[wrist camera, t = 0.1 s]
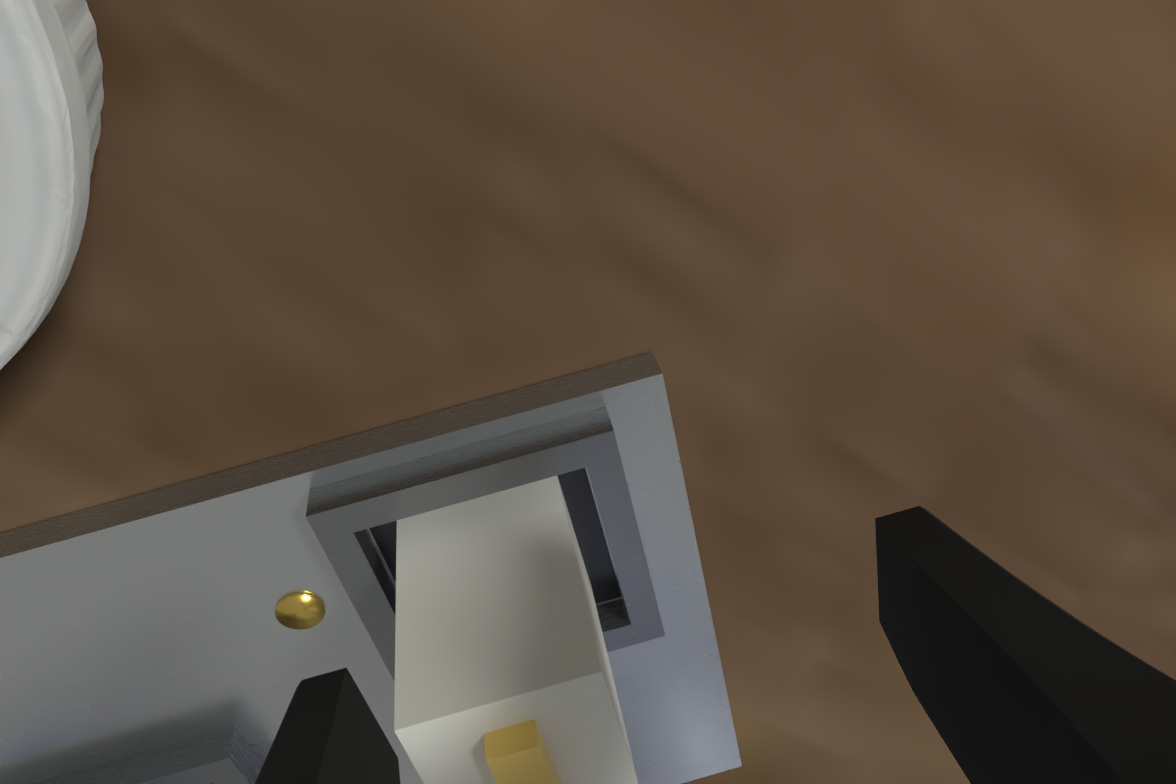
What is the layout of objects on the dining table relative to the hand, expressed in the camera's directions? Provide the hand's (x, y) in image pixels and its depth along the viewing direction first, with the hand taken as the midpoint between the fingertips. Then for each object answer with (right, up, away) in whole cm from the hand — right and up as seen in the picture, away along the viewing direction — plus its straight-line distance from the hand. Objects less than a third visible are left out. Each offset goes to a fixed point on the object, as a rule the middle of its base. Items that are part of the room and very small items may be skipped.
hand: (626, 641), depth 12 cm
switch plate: (-8, -5, +14) cm, 17 cm away
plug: (-3, -1, +11) cm, 11 cm away
